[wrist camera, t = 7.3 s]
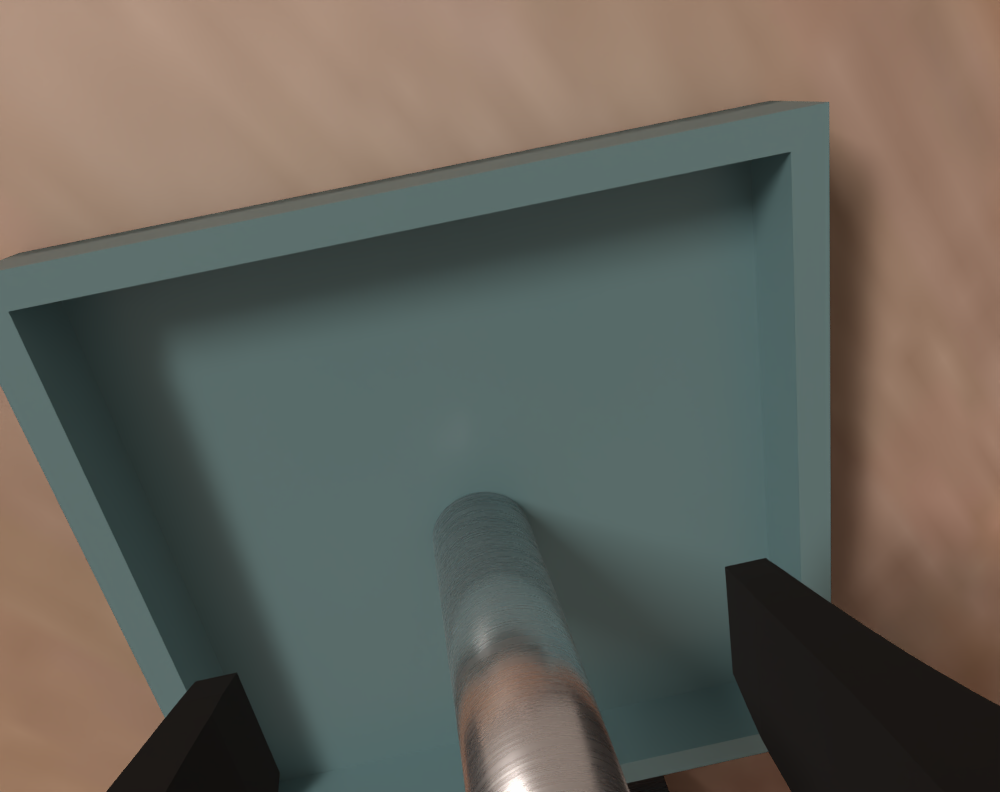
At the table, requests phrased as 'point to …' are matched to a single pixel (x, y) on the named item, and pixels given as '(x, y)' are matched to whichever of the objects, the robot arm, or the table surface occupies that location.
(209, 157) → the table surface
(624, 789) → the steel pin
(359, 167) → the table surface
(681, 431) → the tray
